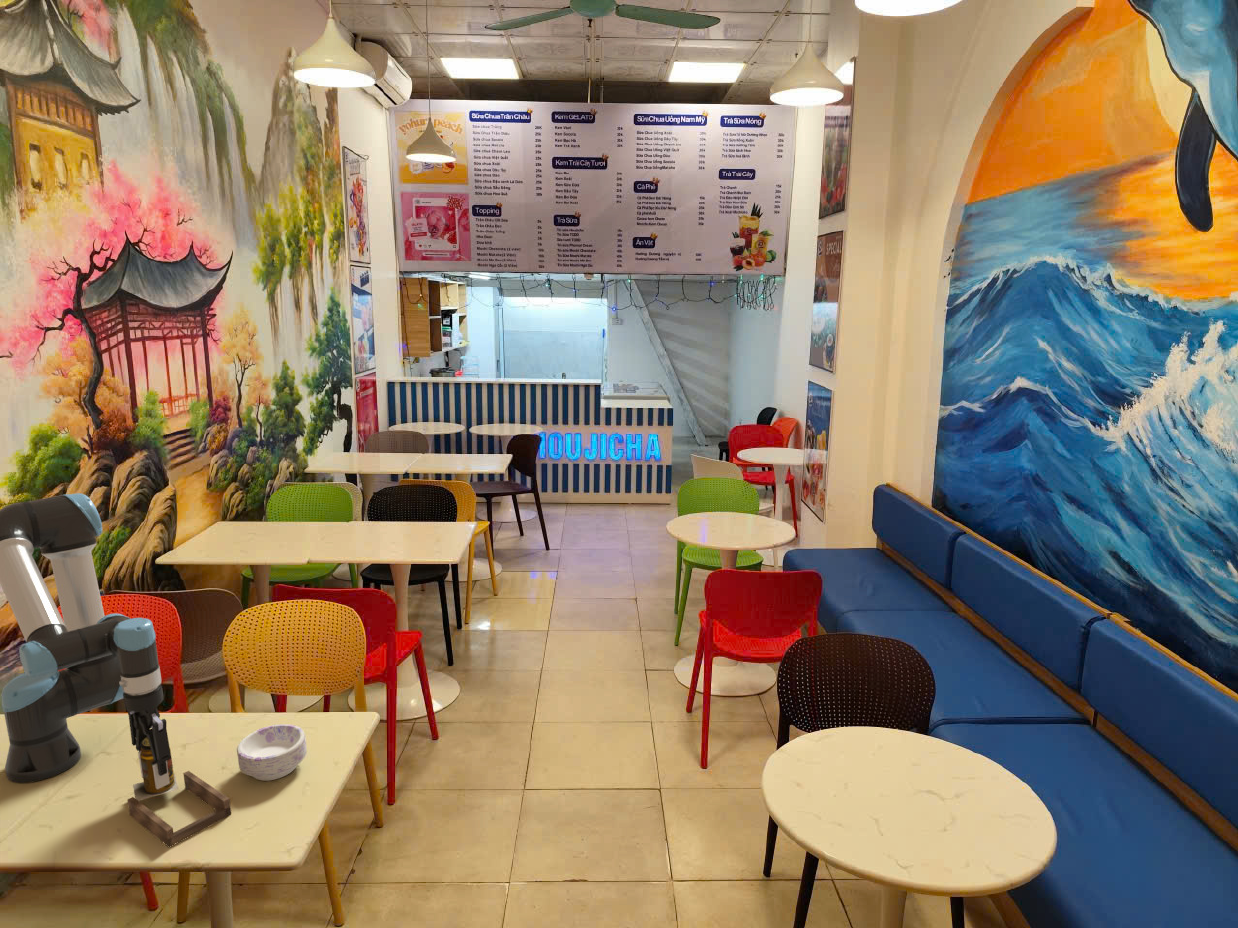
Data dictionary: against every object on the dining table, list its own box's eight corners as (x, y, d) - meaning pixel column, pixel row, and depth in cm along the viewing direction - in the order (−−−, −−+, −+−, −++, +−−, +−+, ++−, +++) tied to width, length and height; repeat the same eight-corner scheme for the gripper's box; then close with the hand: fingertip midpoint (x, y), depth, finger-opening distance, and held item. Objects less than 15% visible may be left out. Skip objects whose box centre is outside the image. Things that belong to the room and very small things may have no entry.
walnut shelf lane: (129, 815, 181) (127, 799, 180) (190, 785, 192) (188, 770, 191) (169, 847, 171) (166, 830, 170) (231, 814, 181) (229, 798, 180)
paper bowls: (235, 793, 189) (231, 762, 187) (245, 757, 203) (242, 728, 201) (305, 782, 193) (302, 752, 191) (310, 747, 207) (307, 719, 205)
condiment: (178, 789, 186) (172, 742, 184) (135, 802, 182) (128, 754, 179) (174, 773, 192) (168, 727, 189) (133, 785, 188) (126, 738, 185)
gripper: (104, 682, 184) (119, 773, 189) (144, 707, 173) (158, 804, 178) (140, 669, 189) (152, 758, 195) (180, 693, 178) (193, 787, 184)
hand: (155, 780), depth 186 cm, fingers closed on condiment, 6 cm apart
